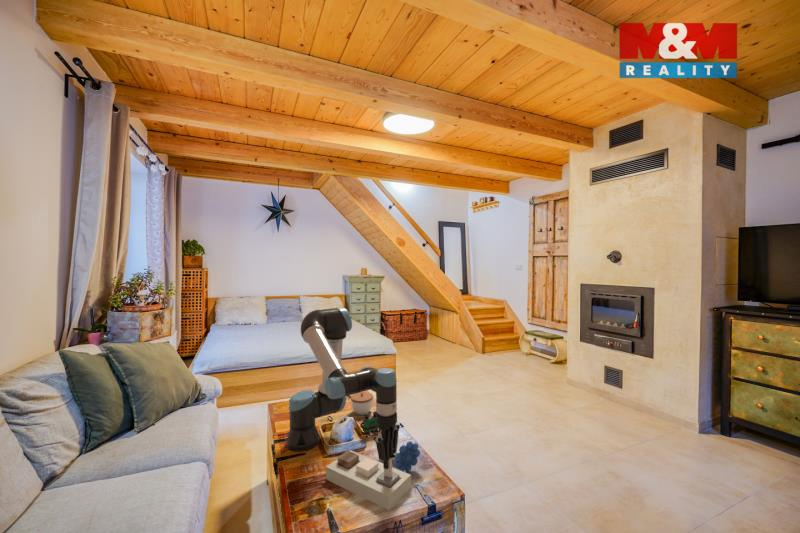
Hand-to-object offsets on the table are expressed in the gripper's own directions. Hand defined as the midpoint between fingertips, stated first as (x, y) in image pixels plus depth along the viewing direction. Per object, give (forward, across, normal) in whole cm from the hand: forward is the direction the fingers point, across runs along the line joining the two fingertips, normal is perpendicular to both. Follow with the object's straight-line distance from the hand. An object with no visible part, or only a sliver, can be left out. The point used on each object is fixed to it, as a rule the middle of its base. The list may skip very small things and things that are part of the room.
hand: (388, 475), depth 127 cm
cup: (+7, +19, +14) cm, 25 cm away
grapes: (+7, +15, +2) cm, 17 cm away
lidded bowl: (+7, +46, +53) cm, 71 cm away
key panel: (+7, 0, +10) cm, 12 cm away
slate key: (+4, 0, 0) cm, 4 cm away
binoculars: (+7, +31, +35) cm, 47 cm away
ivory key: (+3, 0, +10) cm, 11 cm away
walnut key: (+3, 0, +20) cm, 20 cm away
